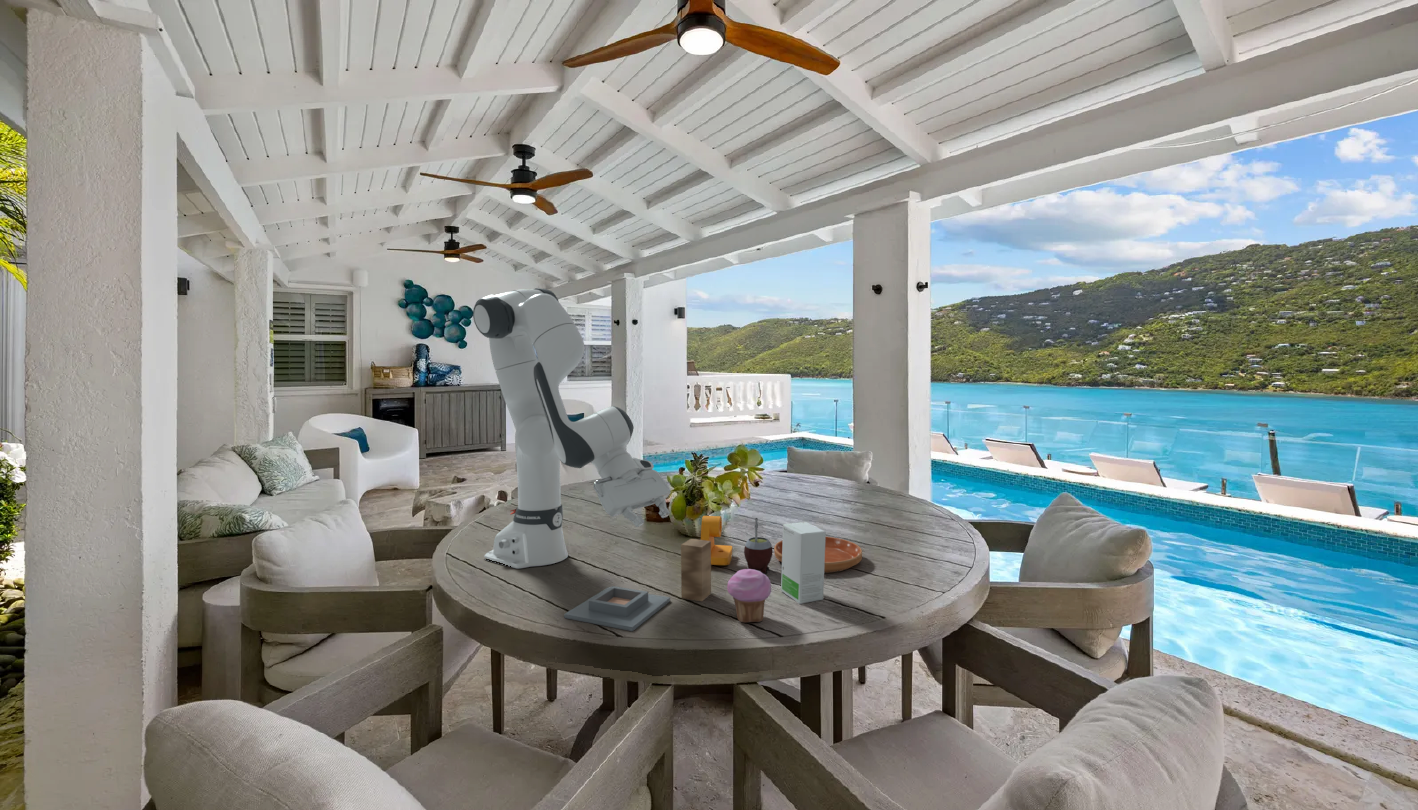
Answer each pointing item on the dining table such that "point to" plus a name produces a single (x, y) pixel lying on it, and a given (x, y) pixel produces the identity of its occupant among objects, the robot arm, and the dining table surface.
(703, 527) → the bracket
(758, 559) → the mate gourd
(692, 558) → the block
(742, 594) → the cupcake
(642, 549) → the dining table surface
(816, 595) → the skincare box
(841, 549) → the saucer
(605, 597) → the housing
